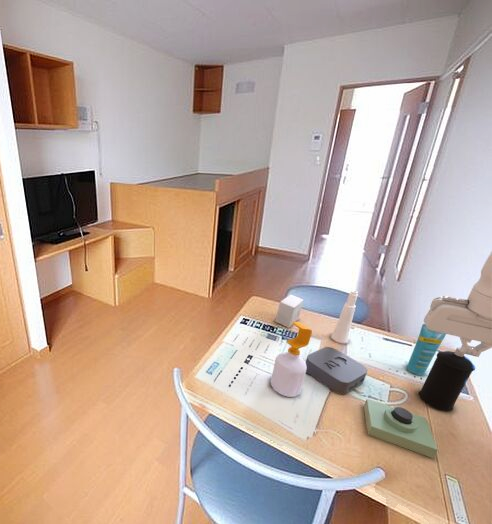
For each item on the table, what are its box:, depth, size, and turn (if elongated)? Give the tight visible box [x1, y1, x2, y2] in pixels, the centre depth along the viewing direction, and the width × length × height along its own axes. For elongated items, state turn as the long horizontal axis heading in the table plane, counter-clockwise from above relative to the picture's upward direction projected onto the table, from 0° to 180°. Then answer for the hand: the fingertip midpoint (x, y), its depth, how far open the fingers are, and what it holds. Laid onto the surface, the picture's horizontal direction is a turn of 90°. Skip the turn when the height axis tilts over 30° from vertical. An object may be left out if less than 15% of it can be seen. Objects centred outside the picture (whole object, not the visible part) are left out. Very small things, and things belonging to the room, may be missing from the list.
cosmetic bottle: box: [330, 289, 359, 344], centre depth 120 cm, size 6×6×22 cm
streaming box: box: [305, 346, 368, 395], centre depth 104 cm, size 14×14×5 cm
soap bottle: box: [270, 321, 313, 398], centre depth 95 cm, size 9×9×25 cm
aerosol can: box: [417, 346, 476, 412], centre depth 92 cm, size 8×8×20 cm
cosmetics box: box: [274, 294, 304, 329], centre depth 134 cm, size 10×6×10 cm, turn 132°
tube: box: [406, 323, 447, 376], centre depth 104 cm, size 7×5×19 cm, turn 81°
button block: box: [363, 398, 439, 459], centre depth 85 cm, size 14×11×5 cm
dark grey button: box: [392, 406, 413, 424], centre depth 84 cm, size 4×4×2 cm
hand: (468, 353), depth 75 cm, fingers closed
